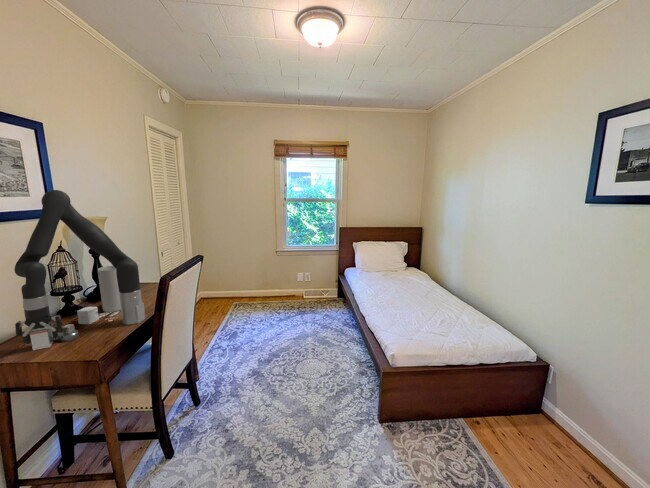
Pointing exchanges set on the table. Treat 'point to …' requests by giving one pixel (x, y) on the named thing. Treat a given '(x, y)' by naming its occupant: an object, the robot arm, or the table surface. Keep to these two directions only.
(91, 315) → the skincare box
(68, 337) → the ratchet
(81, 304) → the table surface
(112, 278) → the cylinder vase
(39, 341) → the white rectangular block
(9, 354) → the table surface
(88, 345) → the table surface
